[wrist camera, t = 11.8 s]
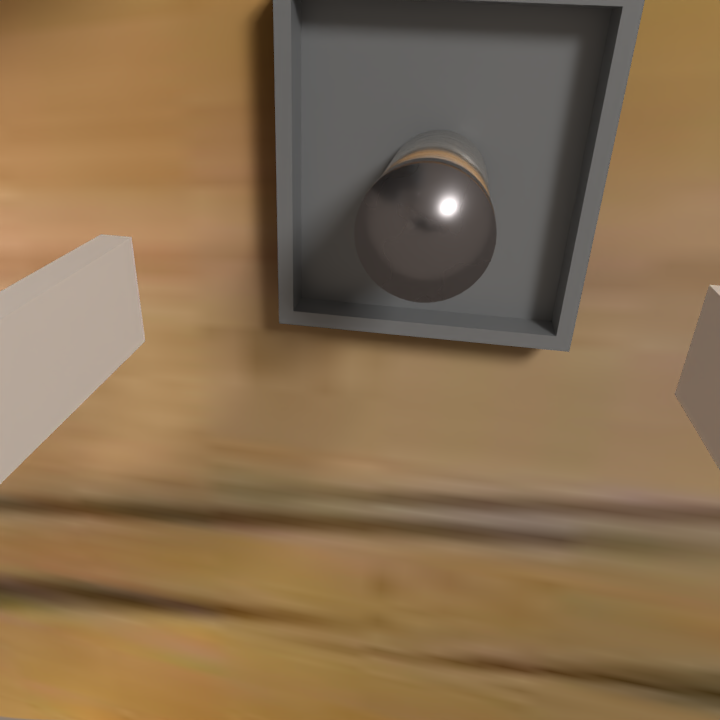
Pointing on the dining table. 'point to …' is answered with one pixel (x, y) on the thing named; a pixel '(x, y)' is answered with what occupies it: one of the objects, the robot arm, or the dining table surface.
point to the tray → (460, 115)
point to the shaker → (428, 220)
